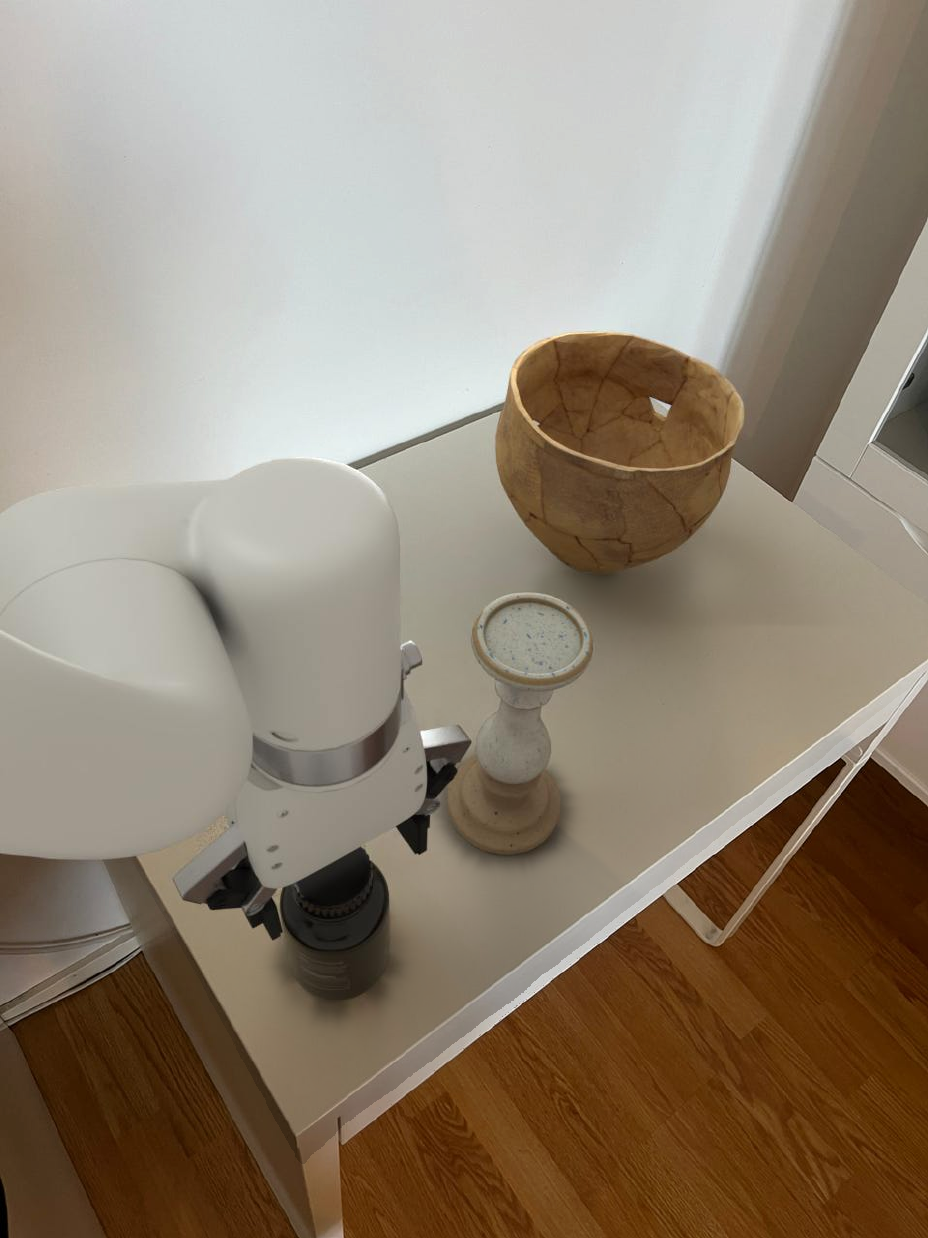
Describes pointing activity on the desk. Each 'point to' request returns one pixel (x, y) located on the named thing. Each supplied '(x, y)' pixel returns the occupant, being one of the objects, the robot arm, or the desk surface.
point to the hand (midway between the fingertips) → (339, 875)
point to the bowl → (614, 447)
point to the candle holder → (518, 721)
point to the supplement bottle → (338, 927)
